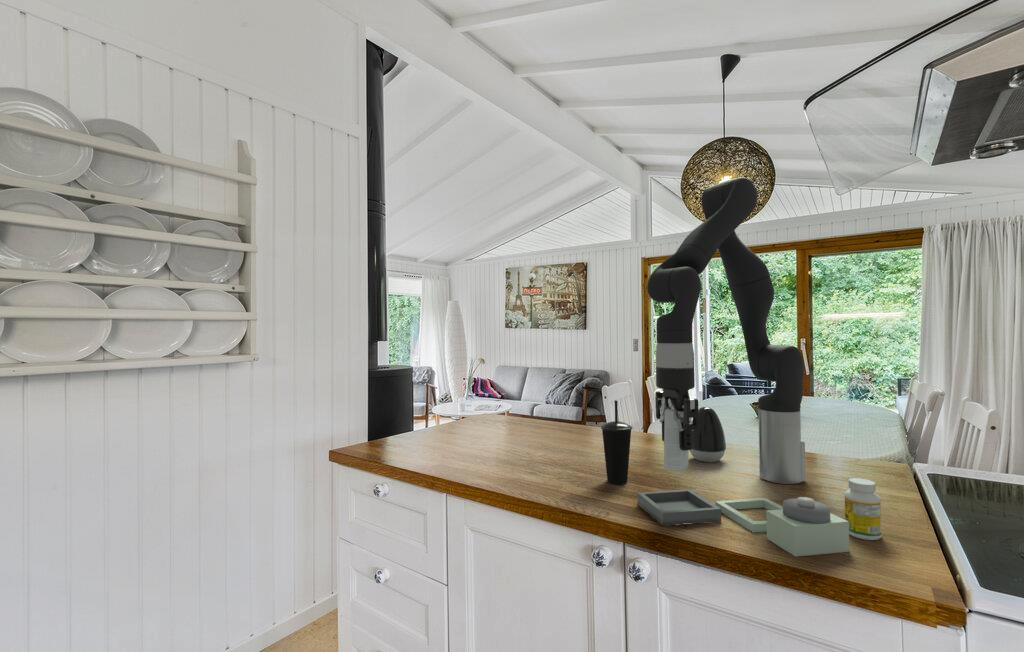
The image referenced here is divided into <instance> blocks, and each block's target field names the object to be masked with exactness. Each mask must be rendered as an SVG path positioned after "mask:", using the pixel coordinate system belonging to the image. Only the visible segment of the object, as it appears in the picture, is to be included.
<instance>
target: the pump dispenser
mask: <svg viewBox="0 0 1024 652" xmlns="http://www.w3.org/2000/svg"><path fill="white" fill-rule="evenodd" d="M691 421H692V423H693V419H691ZM724 431H725V430H724V427H723V425H722V422H721V419H720V418H719V416H718V414H717V412H716V411H715V410H714V409H713V408H711V407H710V406H703V407H699V408H698V429H695V430H693V431H692V432H691V438H692V449H691V450H689V451H690V454H691V456H692V457H693V458H694V459H695V460H697V461H700V462H702V461H704V462H703V463H716V462H718V461H721V459H722V458H723V457H724V455H725V451H726V450H727V441H726V436H725V432H724Z"/></svg>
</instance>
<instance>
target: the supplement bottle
mask: <svg viewBox="0 0 1024 652" xmlns="http://www.w3.org/2000/svg"><path fill="white" fill-rule="evenodd" d="M876 484H877V483H876V482H875V481H873V480H869V479H865V478H859V477H857V478H856V477H853V478H849V479H848V485H847V486H848V488H849V489H847V490H846V491H845V492H844V495H843V496H844V520H846V521H848V522H849V536H852V537H854V538H857V539H861V540H865V541H866V540H867V541H877V540H880V539H881V538H882V502H881V497H880V496H879V495H878V494H877V493H875V492H876V490H877V488H876V487H877V486H876Z"/></svg>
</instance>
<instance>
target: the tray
mask: <svg viewBox="0 0 1024 652" xmlns="http://www.w3.org/2000/svg"><path fill="white" fill-rule="evenodd" d="M637 505H638V506H639V507H640V508H641V507H642V508H643V511H645V513H647V512H648V513H649V514H650V515H649V514H648V513H647V514H648V515H649V516H650V517H651V518H653V519H654V520H655V519H656V520H657V523H659V524H660V525H661V524H662V525H663V526H662V525H661V526H662V527H669V526H668V525H675V526H677V525H676V524H683V523H700V524H709V523H708V522H713V523H720V522H721V523H722V512H721V509H720V508H719V507H717V506H716V505H715V504H714V503H712V502H711V501H709V500H708V499H706V498H705V497H703V496H701V495H699V494H698V493H696V492H695V491H693V490H691V489H690V488H688V489H687V488H686V489H676V490H675V489H674V490H661V491H660V490H659V491H646V492H645V491H642V492H637ZM642 508H641V509H642ZM705 522H706V523H705Z"/></svg>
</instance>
